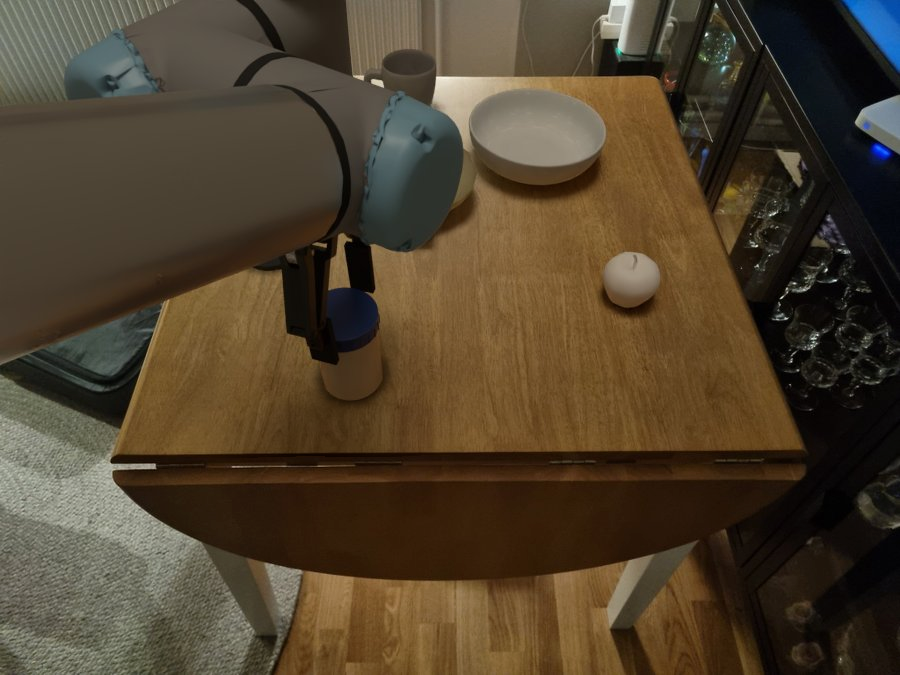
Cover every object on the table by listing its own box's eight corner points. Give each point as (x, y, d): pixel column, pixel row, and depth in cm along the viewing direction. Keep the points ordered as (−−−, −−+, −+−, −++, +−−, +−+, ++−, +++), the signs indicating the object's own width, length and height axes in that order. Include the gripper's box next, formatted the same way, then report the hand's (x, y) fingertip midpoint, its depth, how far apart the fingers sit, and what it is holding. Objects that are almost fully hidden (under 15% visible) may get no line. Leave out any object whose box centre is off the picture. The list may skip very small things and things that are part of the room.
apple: (589, 282, 87) (601, 237, 80) (639, 275, 88) (654, 230, 81) (608, 321, 82) (622, 277, 76) (660, 313, 83) (678, 268, 77)
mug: (437, 102, 114) (437, 49, 106) (434, 131, 108) (434, 77, 101) (369, 100, 114) (365, 46, 106) (363, 128, 108) (357, 74, 101)
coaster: (263, 279, 86) (262, 275, 85) (231, 248, 89) (230, 244, 89) (313, 251, 89) (312, 247, 89) (280, 222, 93) (279, 218, 92)
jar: (347, 411, 73) (336, 354, 65) (311, 374, 76) (295, 315, 68) (394, 377, 76) (390, 318, 68) (358, 343, 79) (349, 282, 71)
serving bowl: (551, 222, 94) (558, 184, 89) (440, 166, 102) (440, 127, 97) (622, 157, 104) (632, 119, 99) (516, 111, 113) (520, 73, 107)
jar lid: (337, 365, 66) (335, 353, 64) (294, 323, 69) (291, 311, 68) (394, 327, 69) (393, 314, 67) (350, 289, 72) (349, 276, 71)
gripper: (296, 242, 44) (336, 416, 62) (404, 79, 58) (412, 259, 75) (198, 220, 45) (265, 397, 63) (326, 65, 59) (352, 246, 76)
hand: (345, 322), depth 69 cm, fingers open, 10 cm apart
